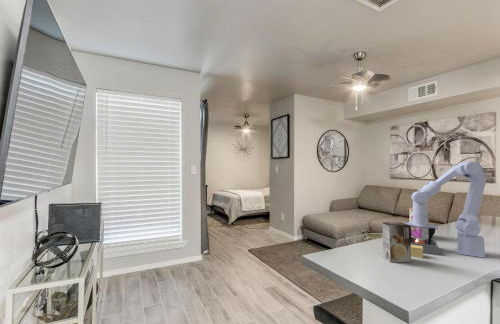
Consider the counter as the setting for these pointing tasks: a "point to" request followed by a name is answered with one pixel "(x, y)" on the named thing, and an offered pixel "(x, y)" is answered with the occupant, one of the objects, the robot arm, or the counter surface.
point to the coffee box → (396, 242)
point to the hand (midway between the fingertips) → (419, 242)
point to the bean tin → (420, 240)
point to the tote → (428, 247)
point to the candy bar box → (418, 231)
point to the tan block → (416, 251)
